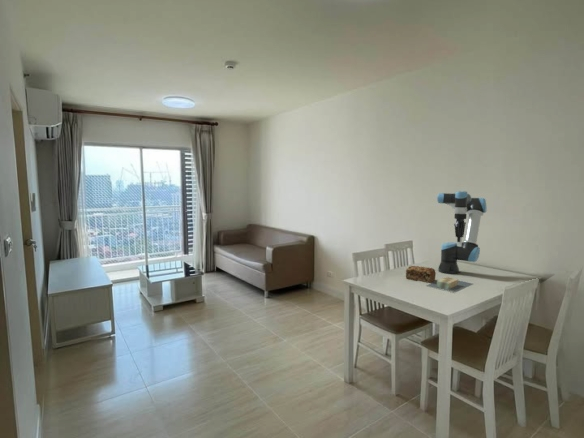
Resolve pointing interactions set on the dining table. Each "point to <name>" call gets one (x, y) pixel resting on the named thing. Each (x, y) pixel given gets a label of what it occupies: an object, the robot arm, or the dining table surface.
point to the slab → (447, 283)
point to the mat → (459, 287)
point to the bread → (420, 274)
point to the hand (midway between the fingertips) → (459, 246)
